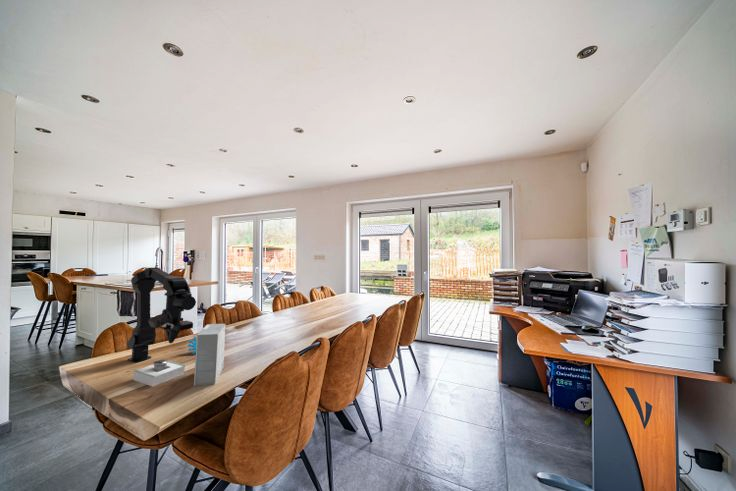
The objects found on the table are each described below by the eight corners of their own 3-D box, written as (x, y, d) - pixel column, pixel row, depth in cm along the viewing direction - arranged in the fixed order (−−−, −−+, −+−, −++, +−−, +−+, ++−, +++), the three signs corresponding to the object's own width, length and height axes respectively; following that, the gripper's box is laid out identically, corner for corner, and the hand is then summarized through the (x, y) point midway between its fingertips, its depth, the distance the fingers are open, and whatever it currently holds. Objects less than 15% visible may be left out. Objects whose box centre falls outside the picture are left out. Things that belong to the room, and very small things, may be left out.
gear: (186, 353, 130) (189, 334, 136) (184, 359, 133) (186, 341, 139) (212, 352, 136) (213, 334, 143) (209, 358, 139) (210, 340, 146)
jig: (133, 379, 105) (133, 370, 106) (165, 368, 117) (166, 359, 117) (152, 386, 101) (153, 376, 101) (184, 374, 112) (184, 365, 112)
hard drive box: (204, 369, 117) (207, 323, 118) (223, 368, 120) (226, 323, 120) (192, 386, 103) (196, 334, 103) (215, 384, 105) (218, 333, 106)
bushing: (149, 377, 108) (150, 362, 108) (161, 373, 112) (163, 358, 112) (157, 380, 106) (158, 365, 106) (169, 375, 110) (170, 361, 110)
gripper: (139, 306, 112) (136, 344, 112) (167, 313, 105) (164, 353, 104) (168, 303, 122) (165, 337, 122) (195, 308, 115) (192, 345, 115)
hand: (170, 343), depth 115 cm, fingers closed
